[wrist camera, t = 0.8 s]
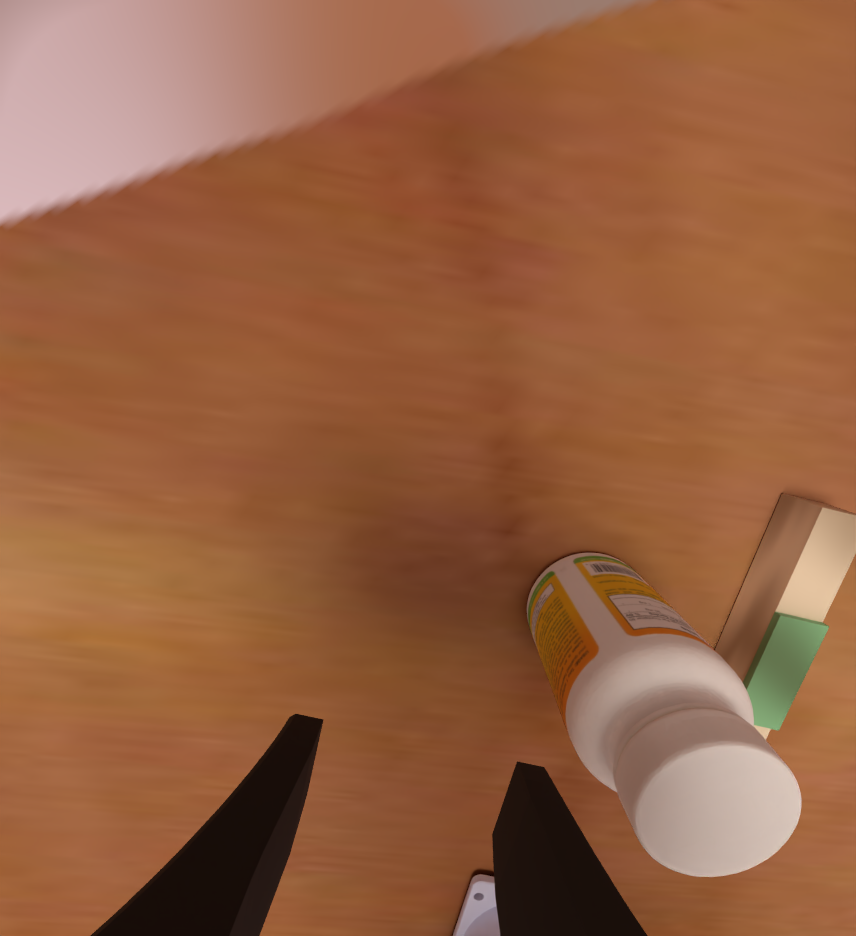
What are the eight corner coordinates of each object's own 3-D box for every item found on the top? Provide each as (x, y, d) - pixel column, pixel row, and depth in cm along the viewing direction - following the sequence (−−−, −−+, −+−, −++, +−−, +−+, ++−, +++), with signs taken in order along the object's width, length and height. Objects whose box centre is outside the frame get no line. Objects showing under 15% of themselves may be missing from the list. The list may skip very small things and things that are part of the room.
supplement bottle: (556, 675, 21) (658, 931, 11) (503, 583, 20) (566, 778, 10) (663, 625, 20) (866, 852, 11) (613, 528, 19) (789, 682, 10)
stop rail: (706, 768, 22) (737, 814, 19) (667, 759, 22) (694, 804, 19) (826, 504, 19) (880, 522, 16) (781, 493, 19) (828, 509, 16)
